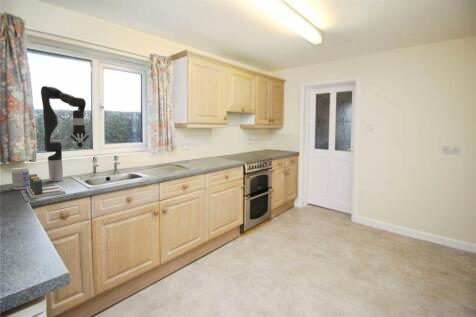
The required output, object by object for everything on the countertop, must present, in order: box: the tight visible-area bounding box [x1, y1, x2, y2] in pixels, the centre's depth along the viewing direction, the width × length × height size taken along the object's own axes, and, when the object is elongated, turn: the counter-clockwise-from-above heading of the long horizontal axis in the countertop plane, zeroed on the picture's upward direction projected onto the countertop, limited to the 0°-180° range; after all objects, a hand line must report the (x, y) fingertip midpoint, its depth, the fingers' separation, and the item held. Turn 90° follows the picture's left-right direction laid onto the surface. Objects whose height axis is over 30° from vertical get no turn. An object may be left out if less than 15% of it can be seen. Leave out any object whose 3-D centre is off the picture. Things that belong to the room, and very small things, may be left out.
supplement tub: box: [11, 166, 30, 191], centre depth 182 cm, size 10×10×15 cm
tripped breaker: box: [31, 175, 40, 191], centre depth 171 cm, size 4×4×9 cm
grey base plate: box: [25, 173, 66, 199], centre depth 174 cm, size 28×18×11 cm, turn 44°
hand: (80, 147), depth 194 cm, fingers closed
